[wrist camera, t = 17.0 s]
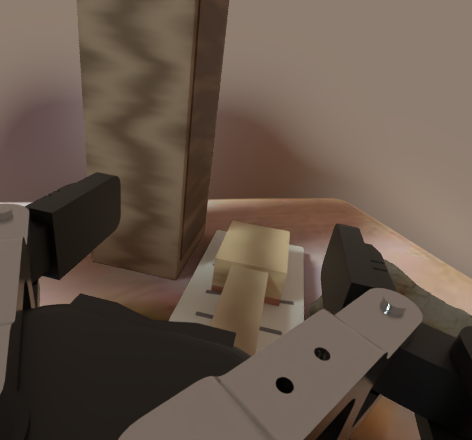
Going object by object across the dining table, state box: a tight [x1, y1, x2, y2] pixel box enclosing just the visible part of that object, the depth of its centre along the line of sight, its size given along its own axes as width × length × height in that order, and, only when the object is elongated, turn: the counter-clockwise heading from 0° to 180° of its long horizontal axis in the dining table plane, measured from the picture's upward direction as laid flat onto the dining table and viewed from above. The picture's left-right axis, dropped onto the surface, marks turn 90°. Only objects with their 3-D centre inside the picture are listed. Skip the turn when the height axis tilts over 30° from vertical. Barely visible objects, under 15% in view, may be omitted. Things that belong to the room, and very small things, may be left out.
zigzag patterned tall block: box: [77, 0, 229, 280], centre depth 36 cm, size 10×12×32 cm
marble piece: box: [310, 259, 472, 338], centre depth 33 cm, size 17×15×4 cm
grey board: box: [169, 230, 304, 354], centre depth 35 cm, size 12×24×2 cm, turn 169°
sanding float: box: [210, 220, 290, 356], centre depth 31 cm, size 7×21×4 cm, turn 170°
